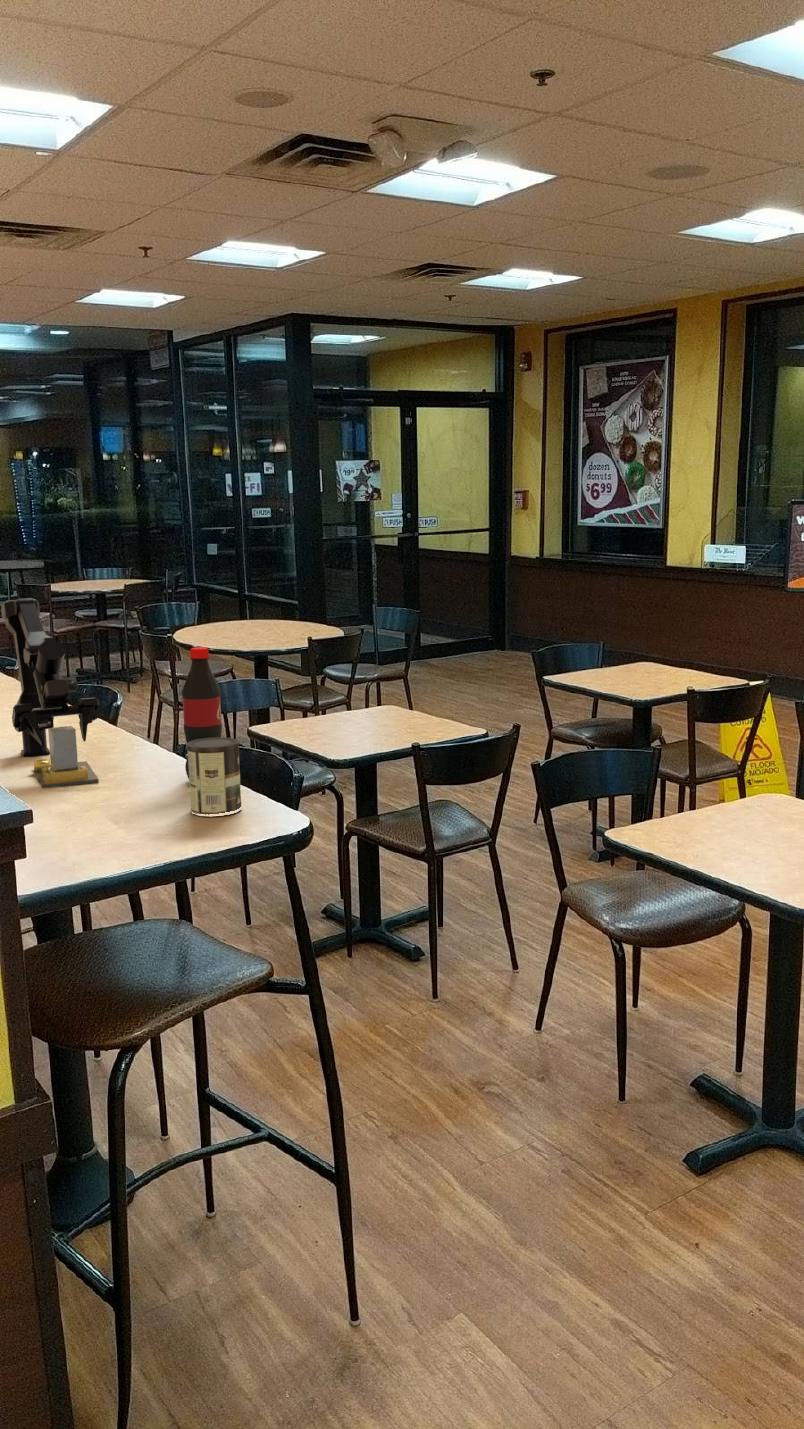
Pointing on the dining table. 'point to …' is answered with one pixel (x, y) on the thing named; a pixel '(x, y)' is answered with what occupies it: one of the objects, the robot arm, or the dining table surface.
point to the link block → (63, 749)
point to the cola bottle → (201, 700)
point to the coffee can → (214, 775)
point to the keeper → (63, 775)
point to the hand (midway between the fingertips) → (64, 742)
